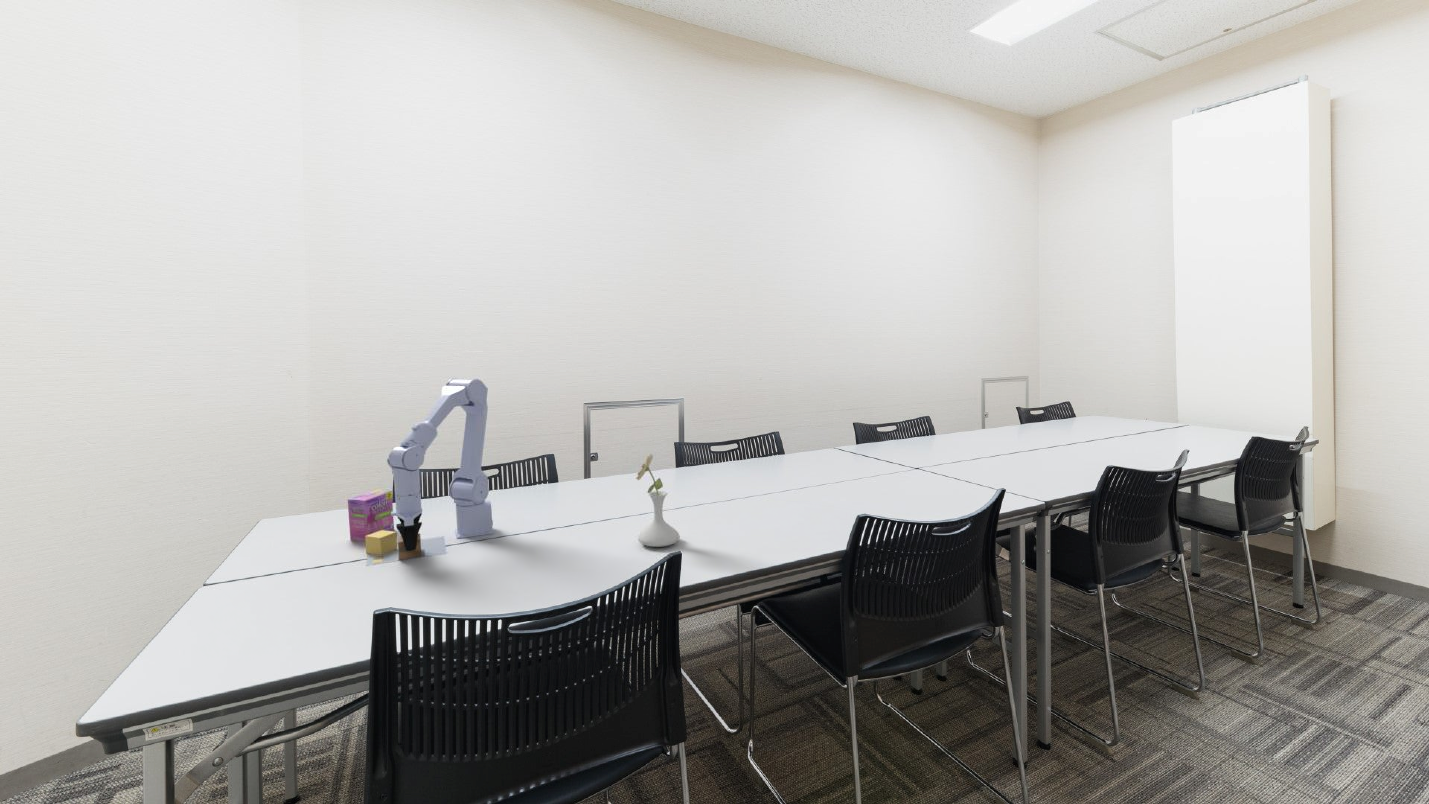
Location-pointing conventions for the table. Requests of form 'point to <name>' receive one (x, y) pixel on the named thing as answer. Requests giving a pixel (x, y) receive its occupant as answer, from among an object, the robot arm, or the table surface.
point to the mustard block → (381, 542)
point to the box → (370, 514)
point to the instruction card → (427, 549)
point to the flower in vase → (656, 516)
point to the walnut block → (409, 554)
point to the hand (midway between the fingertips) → (411, 545)
